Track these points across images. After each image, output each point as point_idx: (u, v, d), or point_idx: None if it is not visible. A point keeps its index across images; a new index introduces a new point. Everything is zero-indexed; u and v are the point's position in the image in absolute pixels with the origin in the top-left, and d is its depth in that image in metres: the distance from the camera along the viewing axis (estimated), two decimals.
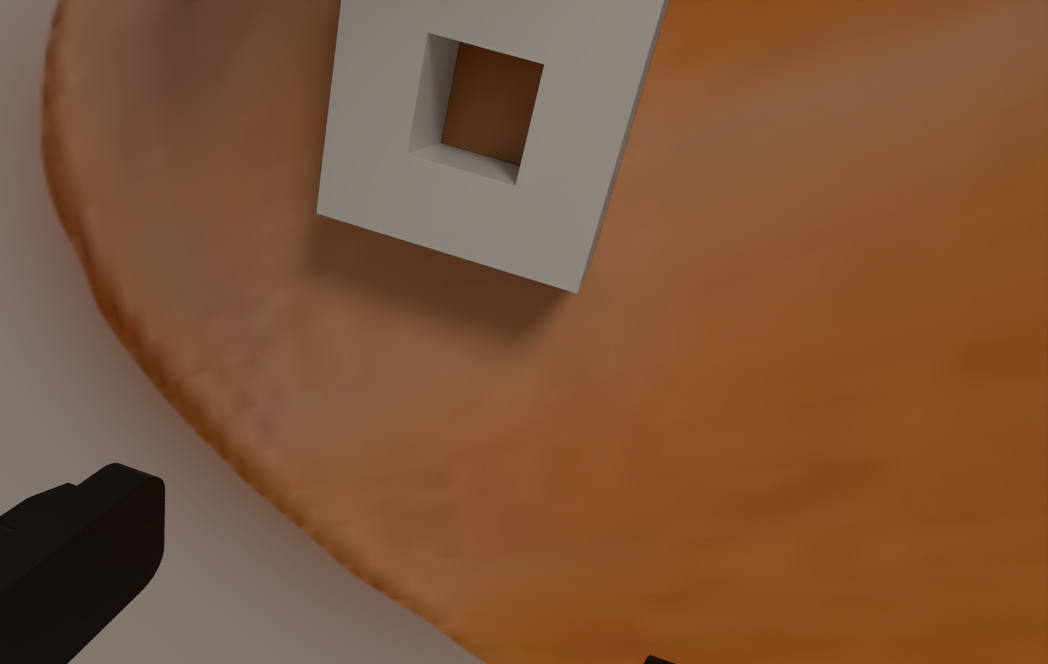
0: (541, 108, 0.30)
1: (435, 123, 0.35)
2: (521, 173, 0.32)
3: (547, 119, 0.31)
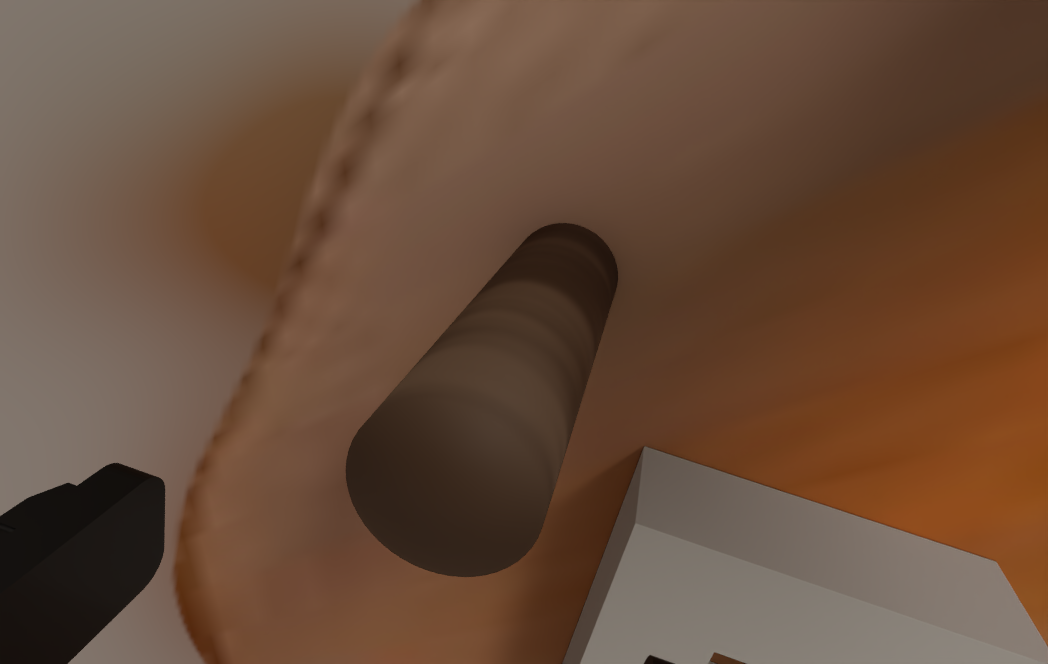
0: None
1: None
2: None
3: None
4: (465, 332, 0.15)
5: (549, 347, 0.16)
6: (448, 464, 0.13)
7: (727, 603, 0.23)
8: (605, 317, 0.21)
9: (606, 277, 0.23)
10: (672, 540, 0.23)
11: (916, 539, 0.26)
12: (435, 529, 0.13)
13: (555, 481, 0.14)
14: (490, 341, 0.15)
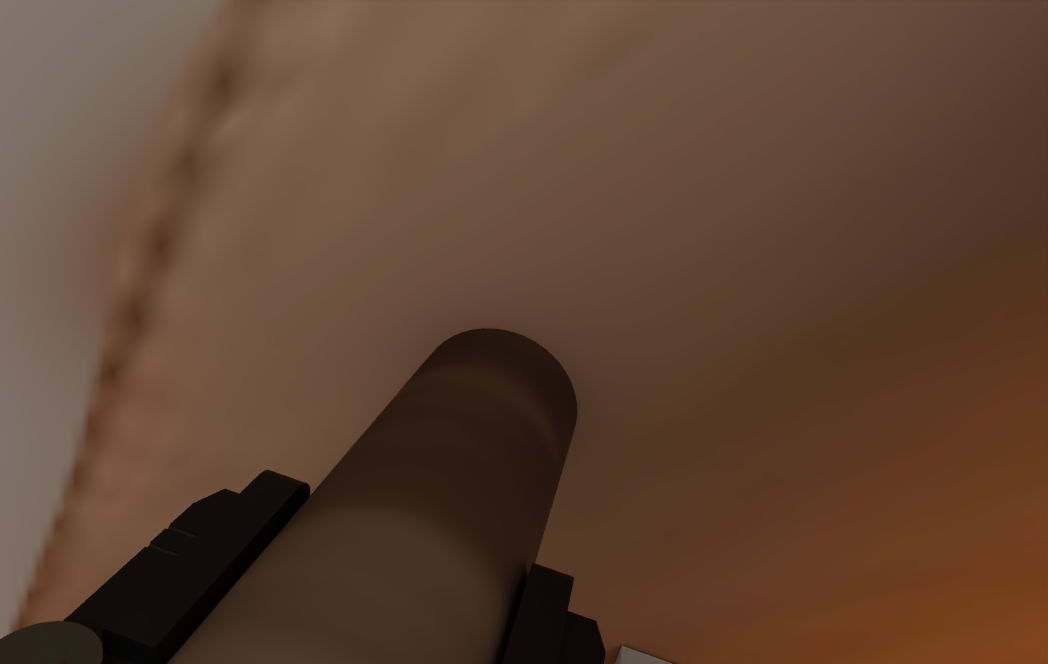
0: None
1: None
2: None
3: None
4: None
5: None
6: None
7: None
8: (545, 517, 0.12)
9: (551, 434, 0.14)
10: None
11: None
12: None
13: None
14: None
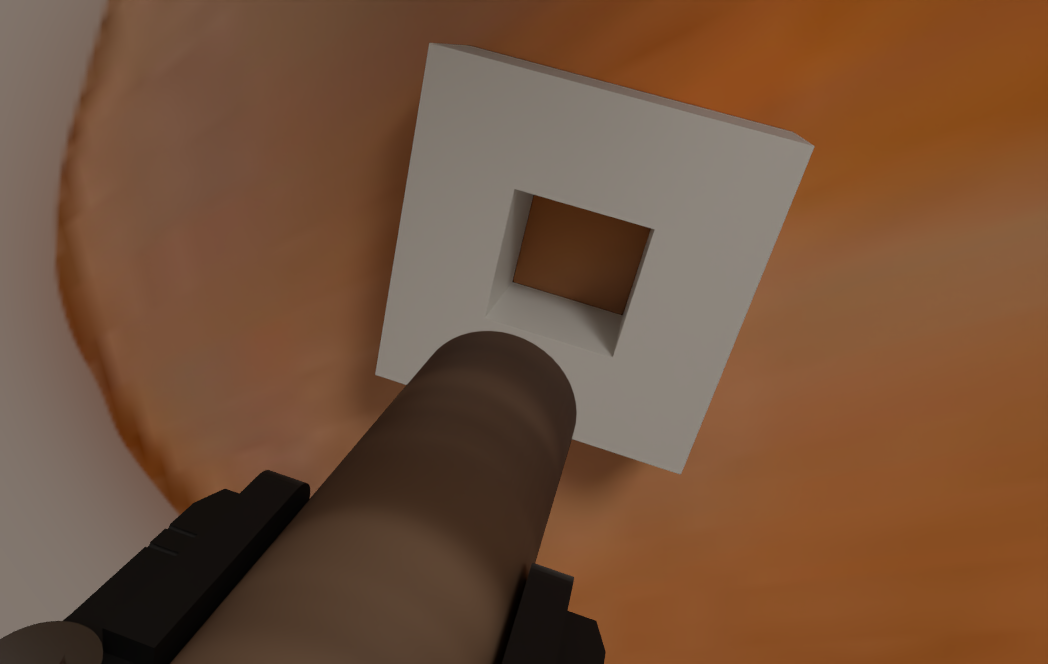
0: (648, 276, 0.26)
1: (510, 268, 0.31)
2: (620, 345, 0.27)
3: (654, 288, 0.26)
4: None
5: None
6: None
7: (519, 125, 0.25)
8: (544, 519, 0.12)
9: (550, 437, 0.14)
10: (463, 57, 0.24)
11: (718, 112, 0.28)
12: None
13: None
14: None
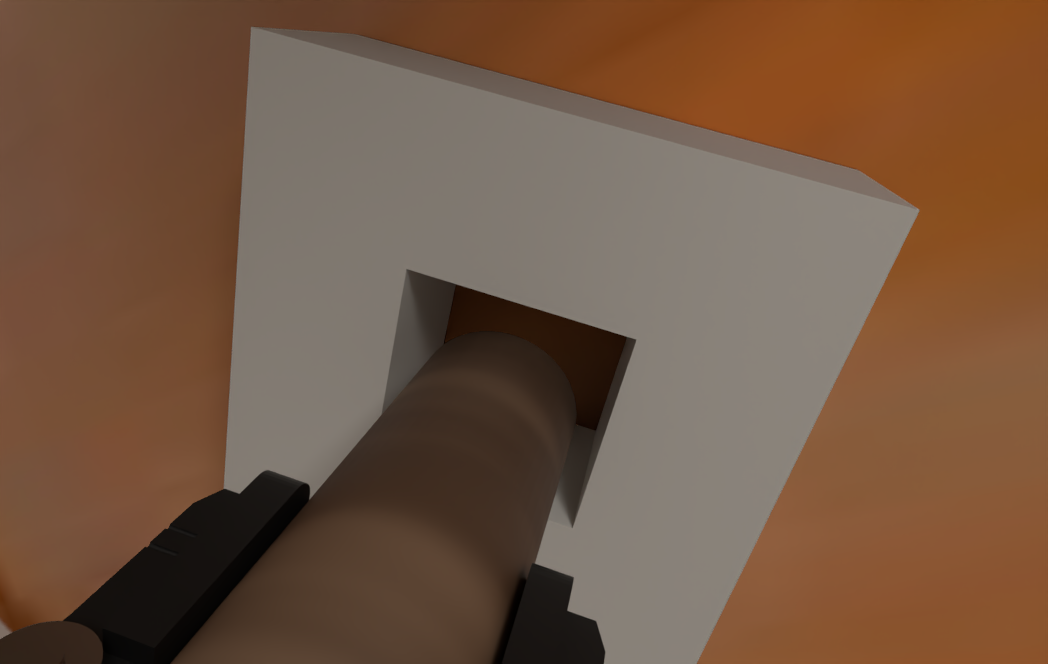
0: (627, 412, 0.16)
1: None
2: (584, 511, 0.17)
3: (638, 430, 0.16)
4: None
5: None
6: None
7: (408, 167, 0.15)
8: (544, 520, 0.13)
9: (550, 437, 0.14)
10: (309, 51, 0.14)
11: (740, 139, 0.17)
12: None
13: None
14: None
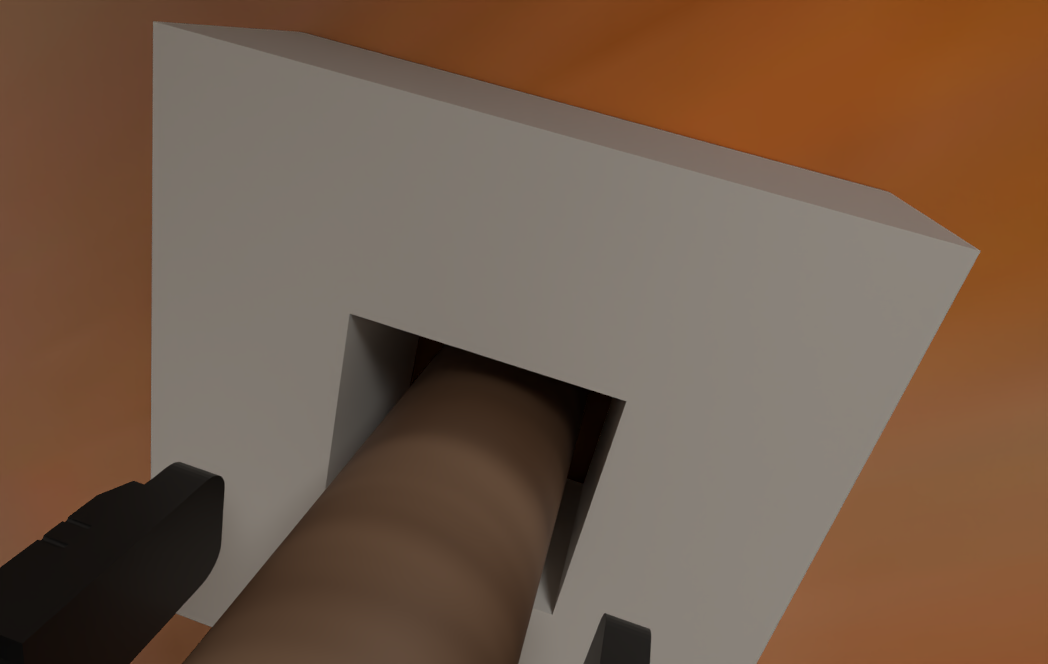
0: (616, 485, 0.13)
1: None
2: (566, 596, 0.14)
3: (628, 506, 0.13)
4: (283, 596, 0.08)
5: (447, 609, 0.08)
6: None
7: (348, 193, 0.12)
8: (569, 460, 0.14)
9: (572, 391, 0.15)
10: (223, 51, 0.12)
11: (749, 155, 0.15)
12: None
13: None
14: (319, 632, 0.07)
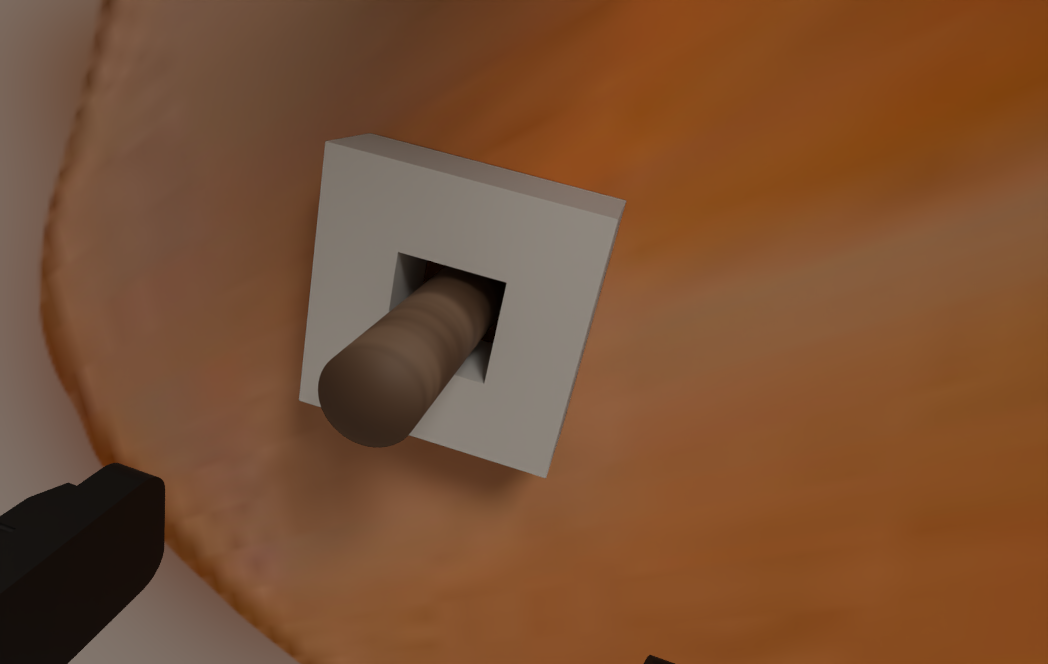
0: (505, 319, 0.33)
1: None
2: (489, 373, 0.34)
3: (511, 328, 0.33)
4: (385, 320, 0.27)
5: (433, 327, 0.28)
6: (369, 383, 0.25)
7: (398, 203, 0.32)
8: (488, 315, 0.34)
9: (492, 290, 0.35)
10: (352, 152, 0.31)
11: (566, 185, 0.34)
12: (365, 420, 0.25)
13: (429, 395, 0.26)
14: (397, 323, 0.27)
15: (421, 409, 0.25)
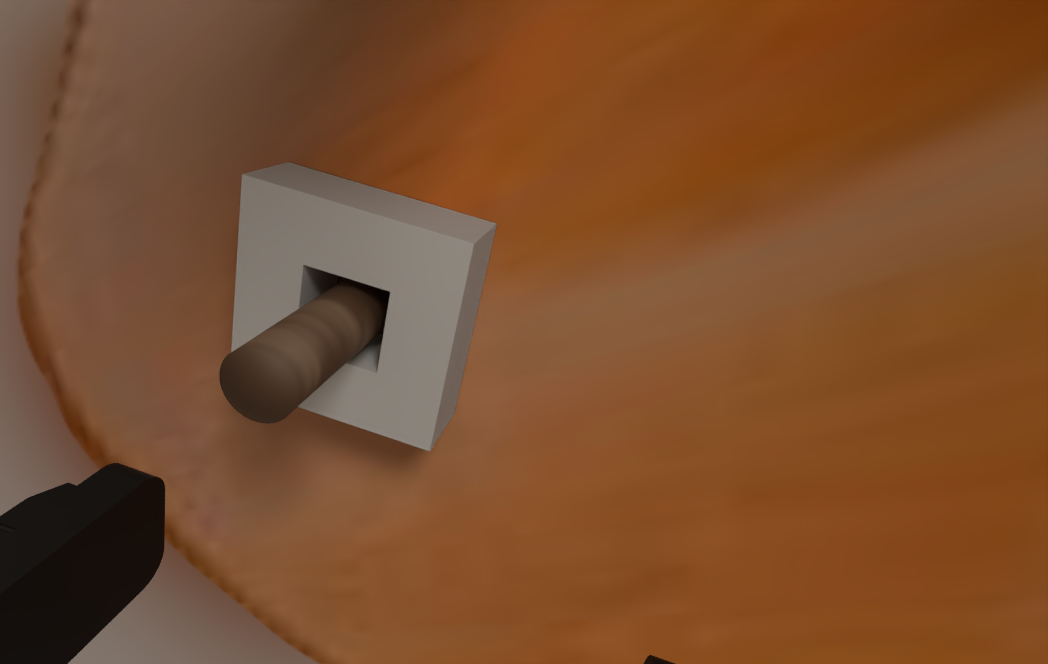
0: (391, 321, 0.40)
1: None
2: (380, 365, 0.41)
3: (395, 328, 0.40)
4: (279, 323, 0.35)
5: (318, 329, 0.35)
6: (257, 373, 0.32)
7: (301, 226, 0.39)
8: (380, 317, 0.41)
9: (386, 296, 0.42)
10: (263, 183, 0.38)
11: (448, 210, 0.42)
12: (256, 402, 0.33)
13: (307, 383, 0.33)
14: (287, 326, 0.34)
15: (298, 394, 0.32)
